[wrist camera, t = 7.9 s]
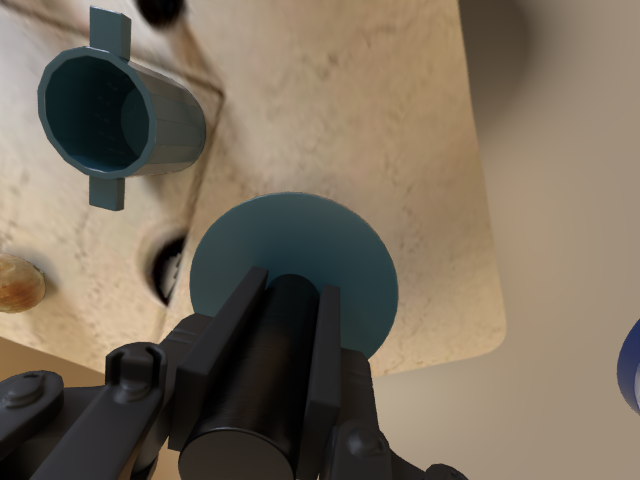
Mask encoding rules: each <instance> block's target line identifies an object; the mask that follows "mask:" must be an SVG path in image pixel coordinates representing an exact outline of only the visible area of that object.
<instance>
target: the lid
mask: <svg viewBox="0 0 640 480" xmlns="http://www.w3.org/2000/svg"><path fill="white" fill-rule="evenodd" d="M252 266H256V267H260V268H264V269H268V270H269V272H268V277H267V282H266V287H265V292H264V294H263V296H262V298H261V300H260V301H259V303H258V305H257V307H256V309H255V311H254V313H253V315H252V317H251V319H250V320H249V322H248V324H247V326H246V328H245V330H244V332H243V334H242V336H241V338H240V339H239V341H238V343H237V345H236V347H235V349H234V351H233V353H232V355H231V357H230V358H229V360H228V362H227V364H226V366H225V368H224V370H223V372H222V374H221V375H220V377H219V379H218V381H217V383H216V385H215V387H214V389H213V391H212V393H211V394H210V396H209V398H208V400H207V402H206V404H205V406H204V408H203V410H202V412H201V413H200V415H199V417H198V419H197V421H196V423H195V425H194V427H193V429H192V431H191V432H190V434H189V436H188V438H187V440H186V442H185V444H184V446H183V448H182V450H181V452H180V455H179V460H178V470H179V474H180V478H181V480H296V478H297V470H298V463H299V455H300V447H301V439H302V425H303V418H304V410H305V403H306V395H307V388H308V380H309V373H310V365H311V357H312V350H313V342H314V335H315V327H316V320H317V312H318V305H319V300H320V296H321V292H322V289H323V285H324V283H325V284H329V285H333V286H337V287H340V335H341V347H342V348H346V349H351V350H355V351H359V352H363V354H364V355H365V357H366V359H367V360H368V359H369V358H370V357H371V356H372V355H374V354H375V352H376V351H377V350H378V349H379V348H380V346H381V345H382V344H383V342H384V341H385V339H386V337H387V336H388V334H389V332H390V330H391V328H392V325H393V323H394V320H395V316H396V313H397V307H398V299H399V295H398V281H397V275H396V271H395V268H394V265H393V261H392V259H391V257H390V255H389V253H388V251H387V249H386V247H385V245H384V243H383V242H382V240H381V239H380V237H379V236H378V234H377V233H376V232H375V231H374V230H373V229H372V227H371V226H370V225H369V224H368V223H367V222H366V221H364V220H363V219H362V218H361V217H360V216H359V215H357V214H356V213H355V212H353V211H351V210H350V209H348V208H347V207H345V206H343V205H341V204H339V203H337V202H335V201H333V200H331V199H327V198H324V197H321V196H318V195H313V194H308V193H302V192H279V193H271V194H266V195H262V196H258V197H255V198H253V199H250V200H247V201H245V202H243V203H241V204H239V205H238V206H236V207H234V208H232V209H230V210H229V211H228V212H226V213H225V214H224V215H222V216H221V217H220V218H219V219H218V220H217V221H216V222H215V223H214V224H213V225H212V226H211V227H210V228H209V229H208V231H207V232H206V233H205V235H204V236H203V238H202V239H201V241H200V243H199V245H198V247H197V249H196V252H195V255H194V258H193V260H192V265H191V271H190V285H189V286H190V296H191V302H192V306H193V310H194V312H195V313H198V314H202V315H206V316H211V317H215V315H216V314H217V313H218V311H219V310H220V309H221V307H222V306H223V305H224V303H225V302H226V301H227V299H228V298H229V297H230V295H231V294H232V293H233V291H234V290H235V289H236V287H237V286H238V285H239V283H240V282H241V281H242V279H243V278H244V277H245V275H246V274H247V273H248V271H249V270H250V269H251V267H252Z"/></svg>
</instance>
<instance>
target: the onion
mask: <svg viewBox="0 0 640 480" xmlns="http://www.w3.org/2000/svg"><path fill="white" fill-rule="evenodd" d="M43 276H44V275H43V271H41V270H40V269H38V268H37V267H36V266H35V265H32V264H31V263H29V262H27V261H24V260H22V259H20V258H18V257H15V256H11V255H7V254H1V253H0V312H5V313H19V312H23V311H26V310H29V309H30V308H32V307H34V306H36V305H37V304H38V303H39V302H40V301H41V300H42V298H43V296H44V294H45V282H44V279H43Z"/></svg>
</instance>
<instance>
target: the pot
mask: <svg viewBox="0 0 640 480" xmlns="http://www.w3.org/2000/svg"><path fill="white" fill-rule="evenodd" d="M130 44H131V19H130V18H128V17H127V16H125V15H124V14H122V13H118V12H114V11H110V10H106V9H102V8H98V7H94V6H90V47H88V46H83V47H79V48H74V49H70V50H66V51H63V52H61V53H60V54H59V55H58V56H57V57H56V58H55V59H53V60H52V61H51V62H50V63H49V64H48V65H47V66H46V67H45V70H44V72H43V75H42V78H41V81H40V84H39V86H38V90H37V95H38V115H39V118H40V121H41V123H42V126H43V128H44V131H45V133H46V136H47V139H48V140H49V142H50V143H51V144H52V145H53V147H54V148H55V149H56V150H57V152H58V153H59V154H60V155H61V157H62V158H63V159H64V160H65V161H66V162H67V163H69V164H70V165H72V166H73V167H75V168H76V169H78V170H79V171H81V172H82V173H84V174H86V175H89V205H92V206H96V207H100V208H104V209H108V210H112V211H120V210H123V209H124V195H125V178H131V177H140V176H149V175H158V174H166V173H172V172H178V171H181V170H183V169H186V168H187V167H189V166H190V165H192V164H193V163H194V162H195V161H196V160H197V158H198V157H199V155H200V154H201V152H202V150H203V147H204V144H205V138H206V125H205V120H204V116H203V113H202V111H201V108H200V106H199V104H198V103H197V101H196V100H195V98H194V97H193V95H192V94H191V93H190V92H189V91H188V90H187V89H186V88H184V87H183V86H182V85H180V84H179V83H177V82H175V81H174V80H173V79H170V78H168V77H166V76H164V75H161V74H159V73H157V72H154V71H152V70H150V69H148V68H145V67H143V66H141V65H138V64H136V63H134V62H132V61H130Z"/></svg>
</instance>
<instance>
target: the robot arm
mask: <svg viewBox="0 0 640 480" xmlns="http://www.w3.org/2000/svg"><path fill="white" fill-rule="evenodd" d="M268 272H269V270H268V269H264V268H260V267H256V266H252V267H251V269H250V270H249V271H248V273H247V274H246V275H245V277H244V278H243V279H242V281H241V282H240V283H239V285H238V286H237V287H236V289H235V290H234V291H233V293H232V294H231V295H230V297H229V298H228V299H227V301H226V302H225V303H224V305H223V306H222V307H221V309H220V310H219V311H218V313H217V314H216V315H215V317H211V316H206V315H202V314H198V313H194V314H192V315H190V316H188V317H186V318H184V319H182V320H181V321H180V322H179V324H178V325H177V326H176V327H175V328H174V330H173V331H171V332H170V333H169V334H168V335H167V336H166V339H164V340H163V341H162V342H161V343H160V344H159V345H158V344H154V343H151V342H135V343H130V344H126V345H123V346H121V347H119V348H117V349H114V350H113V351H112V352H111V353H109V354H108V355H107V356H106V365H105V385H103V386H95V387H71V388H64V384H63V380H62V377H61V376H59V375H58V374H57V373H55V372H50V371H44V370H41V371H30V372H26V373H22V374H19V375H15V376H12V377H10V378H8V379H6V380H3V381H1V382H0V480H151V478H152V476H153V474H154V471H155V469H156V465H157V461H158V456H159V451H160V449H161V447H162V446H163V444H164V442H165V441H166V439H167V437H168V436H169V439H168V449H171V450H175V451H180V452H181V450H182V448H183V446H184V444H185V442H186V440H187V438H188V436H189V434H190V432H191V431H192V429H193V427H194V425H195V423H196V421H197V419H198V417H199V415H200V413H201V412H202V410H203V408H204V406H205V404H206V402H207V400H208V398H209V396H210V394H211V393H212V391H213V389H214V387H215V385H216V383H217V381H218V379H219V377H220V375H221V374H222V372H223V370H224V368H225V366H226V364H227V362H228V360H229V358H230V357H231V355H232V353H233V351H234V349H235V347H236V345H237V343H238V341H239V339H240V338H241V336H242V334H243V332H244V330H245V328H246V326H247V324H248V322H249V320H250V319H251V317H252V315H253V313H254V311H255V309H256V307H257V305H258V303H259V301H260V300H261V298H262V296H263V294H264V292H265V287H266V282H267V277H268ZM372 386H373V384H372V378H371V370H370V363H369V362H368V360H367V359H366V357H365V355H364V354H363V352H359V351H355V350H351V349H346V348H342V347H341V335H340V287H337V286H333V285H329V284H325V283H324V285H323V289H322V292H321V296H320V300H319V305H318V312H317V320H316V327H315V335H314V342H313V350H312V357H311V365H310V373H309V380H308V388H307V395H306V403H305V410H304V418H303V425H302V439H301V447H300V455H299V463H298V470H297V478H296V479H297V480H317V478H318V475H319V480H468V479H467V478H466V477H465V476H464V475H463V474H462V473H461V472H459V471H457V470H456V469H454V468H453V467H450V466H448V465H444V464H433V465H431V466H430V467H429V468H428V469H427V470H426V472H424V471H423V470H421V469H419V468H417V467H416V466H414V465H412V464H410V463H409V462H407V461H405V460H404V459H402V458H401V457H399V456H398V455H396V454H395V453H394V452H393V451H392V450H391V449H390V447H389V443H388V441H387V439H386V438H385V436H384V434H383V433H382V432H381V431H380V430H379V425H378V419H377V412H376V405H375V397H374V391H373V388H372Z"/></svg>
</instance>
